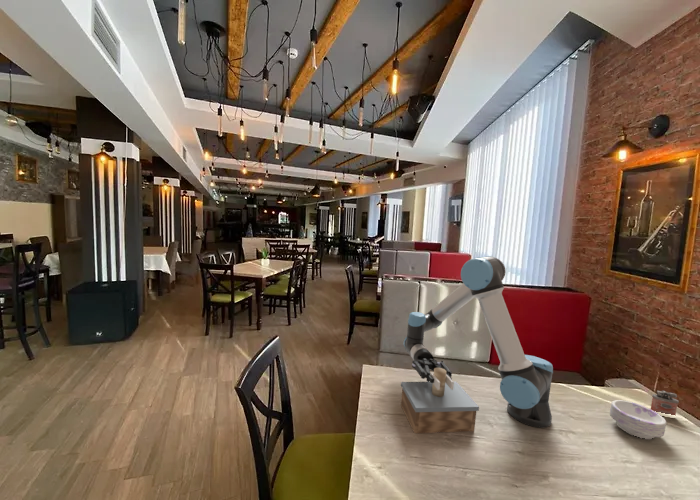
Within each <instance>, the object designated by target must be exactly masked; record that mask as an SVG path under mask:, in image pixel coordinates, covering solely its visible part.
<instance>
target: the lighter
mask: <svg viewBox="0 0 700 500" xmlns="http://www.w3.org/2000/svg"><path fill="white" fill-rule="evenodd" d="M651 398H652V399H651V405H650V409H651V410H653V411H656V412H661V413H665V414H671V415H675V416H676V414H677V409H678V404H679V400H678V399H677V398H678V395H677V393H674V392H668V391H665V390H656V394H654V393H653V394H651Z"/></svg>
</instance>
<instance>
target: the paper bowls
mask: <svg viewBox="0 0 700 500" xmlns="http://www.w3.org/2000/svg"><path fill="white" fill-rule="evenodd" d="M609 408H610V409H609V416H610V417H611V418H612V420H613V421H615V423H616V425H617V427H619V428H620V429H621V430H623V431H624V432H625V431H626V432H625V433H626V434H629V435H631V436H633V435H634V436H633V437H635V436H637V437H636V438H638V437H640V438H639V439H642V438H645V439H644V440H653V439H655V438H662V437H664V436H665V432H666V428H667V420H666V419H665V417H662V416H661V415H659V414H658V413H656V412H655V411H653V410H651V408H648V407H647V406H645V405H642V404H639V403H636V402H632V401H630V400H629V401H628V400H622V399H617V400H616V399H615V400H612V401H611V404H610V407H609ZM652 438H653V439H652Z"/></svg>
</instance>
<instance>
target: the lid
mask: <svg viewBox="0 0 700 500" xmlns="http://www.w3.org/2000/svg"><path fill="white" fill-rule="evenodd" d="M433 374H434V375H435V376H436V378H437V379H438V380H439V381H440V390H437V388H436V387H435V386H434V384H433V383H431V382H430V381H429V382H428V381H401V382H400V387H401V388H403V390H404V392H405V394H406V396H407V398H408V399H409V401H410V403H411V405H412V407H413V408H414V410H415V412H450V411H476V412H480V411H479V410H480V406H479V405H478V403H476V401H475V400H473V398H472V397H471V396H470V395H469V394H468V393H467V392H466V391H465V389H464V388H463V387H462V385H461V384H459V383H458V381H454V380H452V381H453V382H454V386H453V390H451V389H450V388H449V386H448V385H447V384H446V383H445V381H446V370H445V369H443V368H434V371H433Z"/></svg>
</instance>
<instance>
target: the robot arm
mask: <svg viewBox="0 0 700 500" xmlns="http://www.w3.org/2000/svg"><path fill="white" fill-rule="evenodd" d="M505 276H506V267H505V264H504V262H502V261H501V260H500V259H499V258H497V257H495V256H483V257H480V256H478V257H474V258H471V259H468V260H467V261H466V262H465V263H464V264H463V265H462V267H461V270H460V278H461V281H462V283H461V284H460V285H459V286H457V288H455V289H454V290H453V291H451V292H450V294H448V295H447V296H446V297H445V298H443V299H442V300H441V301H439V303H437V304H435V306H434V307H432V309H430V310H429V311H428V312H426V313H422V312H420V311H412V312H409V314H408V319H407V331H406V336H405V338H404V340H403V346H404V349H405V351H406V353H408V355H409V356H410V357H411V359H412V361H411V363H412V364H411V365H412V366H411V367H412V368H413V369H414V370H415V371H416V372H417V374H418V375H419V376H420V378H421V379H423V380H425V379H426V382H431V383H433V384H434V386H435V387H436V388H437V390H440V381H439V380H438V379H437V378H436V376H435V375H434V368H443V369H445V370H446V381H445V383H446V384H447V385H448V386H449V388H450V389H451V390H453V386H454V382H453V381H454V380H453V379H452V378H453V377H452V373H453V371H451V369H450V368H449V367H448V366H447V365H446V364H445V361H444V360H440V361H437V359H435V358H434V355H433V354H432V353H431V352H430V350H429V349H428V348H427V347H426V346H425V345H424V340H425V339H424V338H425V332H428V331H430V330H432V329H437V328H438V327H440V326H441V325H442V324H443V322H444V321H446V320H447V319H448V318H450V317H451V316H452V315H453V314H455V313H456V312H457V311H459V310H460V309H461V308H463V306H465V305H466V304H468V303H469V302H470V301H472V300H473V299H477V300H478V302H479V306H480V308H481V311H482V315H483V317H484V320H485V323H486V325H487V328H488V331H489V335H490V337H491V341H492V343H493V345H494V349H495V351H496V354H497V356H498V359H499V362H500V363H499V365H498V367H497V369H498V372H499V375H500V378H501V380H500V384H499V390H500V395H502V397H503V399H504V400H505V401H506V402H507V404H506V405H507V406H506V411H507V412H508V414H509V415H510V416H511V417H512V418H514V419H515V420H516V421H519V422H520V423H522V424H525V425H527V426H530V427H533V428H540V429H542V428H544V429H545V428H548V427H551V425H552V422H553V420H552V419H553V416H552V412H551V407H550V402H549V401H550V394H551V393H550V392H551V387H552V380H553V379H552V378H553V374H554V367H553V364H552V363H551V362H550V361H548V360H546V359H543V358H541V357H537V356H535V355H530V354H525V353H524V350H523V349H524V348H523V347H522V345H521V342H520V339H519V336H518V334H517V332H516V329H515V325H514V323H513V320H512V318H511V315H510V313H509V310H508V307H507V304H506V302H505V299H504V296H503V292H504V291H503V290H504V289H505V286H504V283H503V280H504V279H505ZM431 371H432V372H431Z"/></svg>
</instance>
